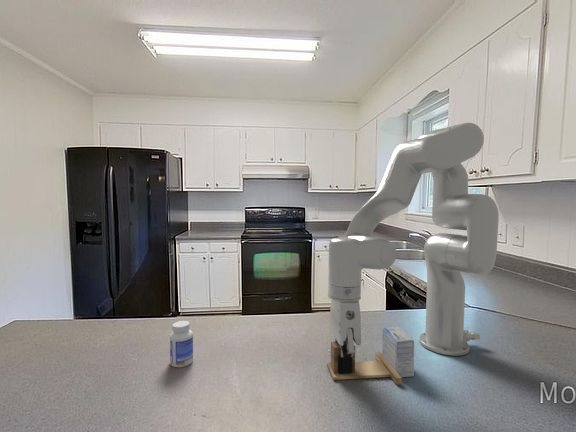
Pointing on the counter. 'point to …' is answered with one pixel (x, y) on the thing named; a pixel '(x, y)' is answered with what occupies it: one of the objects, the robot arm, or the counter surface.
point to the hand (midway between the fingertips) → (342, 367)
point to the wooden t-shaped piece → (362, 367)
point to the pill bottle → (181, 344)
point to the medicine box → (399, 351)
